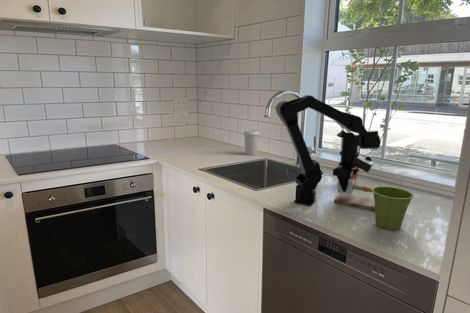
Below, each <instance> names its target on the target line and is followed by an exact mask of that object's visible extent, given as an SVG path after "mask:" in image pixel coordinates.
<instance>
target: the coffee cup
mask: <svg viewBox="0 0 470 313" xmlns="http://www.w3.org/2000/svg"><path fill="white" fill-rule="evenodd" d="M259 134H260V133H259V130H258V129H245V130H244V132H243V136H244V147H245V148H244V149H245V155H247V156H256V155H257V149H258V142H259V141H258V140H259Z"/></svg>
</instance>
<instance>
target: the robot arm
mask: <svg viewBox="0 0 470 313" xmlns="http://www.w3.org/2000/svg"><path fill="white" fill-rule="evenodd" d="M306 109H310V110H313V111H315V112H317V113H319V114H320V115H323V116H325V117H327V118H329V119H331V120H333V121H334V122H335V123H336V124H337V125H338V126H340V127H341V128H342V129H343V130H340V132H338V133H337V134H336V136H337V137H338V138H340V139H341V150H340V151H339V156H340V161H339V163H338V165H337V167H334V169H332V176H335V177H336V178H337V181H339V183H340V185H341V188H342V190H343V191H344V192H346V189H347V186H348V182H349V179H353V176H354V174H355V173H357V174H358V172H359V171H360V169H361V170H362V171H363V172H364V173H369V172H370V171H371V170H372V167H373V166H374V161H373V157H372V156H370V155H367V156H365V157H363V156H361V155H360V156H361V157H360V156H359V154H361V153H360V152H359V148H360V149H361V150H377V149H379V148H380V146H381V138H380V135H379V131H378V130H367V129H366V127H365V126H364V122H363V118H362V117H361V116H359V115H356V114H351V113H348V112H344V111H341V110H339V109H337V108H335V107H333V106H331V105H329V104H328V103H325V102H324V101H322V100H319V99H318V98H316V97H315V96H313V95H311V94H310V95H309V94H308V95H303V96H302V97H298V98H294V99H292V100H288V101H287V100H281V101H279V102H278V103H277V104H276V106H275V112H276V114H277V116H278V117H279V119H280V121H281V122H282V123H283V125H284V126H285V127H286V129H287V132H288V136H289V138H290V141H291V142H292V145H293V147H294V149H295V153H296V155H297V158H298V160H299V170H300V173H299V174H297V175H296V177H295V178H294V181H295V184H296V186H295V196H294V197H295V199H294V200H293V203H294V204H298V205H304V206H308V207H310V206H312V205H313V204H314V203H315V202H316V198H317V197H316V196H317V195H316V194H317V191H316V189H317V186H318V184H319V183H320V182H321V181H322V178H323V176H322V174H323V173H324V172H323V171H322V169H321V166H320V163H319V162H318V161H316V160H315V159H314V158H313V159H312V157H311V154H310V152H309V149H308V147H307V144H306V142H305V139H304V136H303V133H302V130H301V128H300V126H299V120H298V119H299V116H298V113H301V112H303V111H305V110H306ZM346 130H347V131H350V132H346ZM355 133H356V134H355ZM356 167H358V169H355V168H356Z"/></svg>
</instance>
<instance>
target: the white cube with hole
mask: <svg viewBox="0 0 470 313" xmlns="http://www.w3.org/2000/svg"><path fill="white" fill-rule="evenodd" d="M337 182H338V183H337V193H339V194H340V193H342V194H347V195H353V194H354V192H355V189H352V187H353V185H356V184H355V179H349V182H348V186H347V189H346V192H344V191H343V190H342V188H341V185H340V183H339V180H337Z"/></svg>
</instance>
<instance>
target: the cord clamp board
mask: <svg viewBox="0 0 470 313" xmlns="http://www.w3.org/2000/svg"><path fill="white" fill-rule="evenodd" d="M379 186H380V185H378V186H377V187H379ZM372 188H373V187H369V186H367V185H365V186H363V185H357V184H355V185H353V187H352V189H354V191H363V192H365V193H367V192H368V193H373V192H372ZM333 203H334V204H337V203H338V205H343V206H348V207H354V208H359V209H364V210H369V211H373V212H375V199H374V198H368V197H362V196H357V195H353V194H351V195H349V194H344V193H339V194H338V195H337V196H336V197H335V198H334V199H333Z"/></svg>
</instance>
